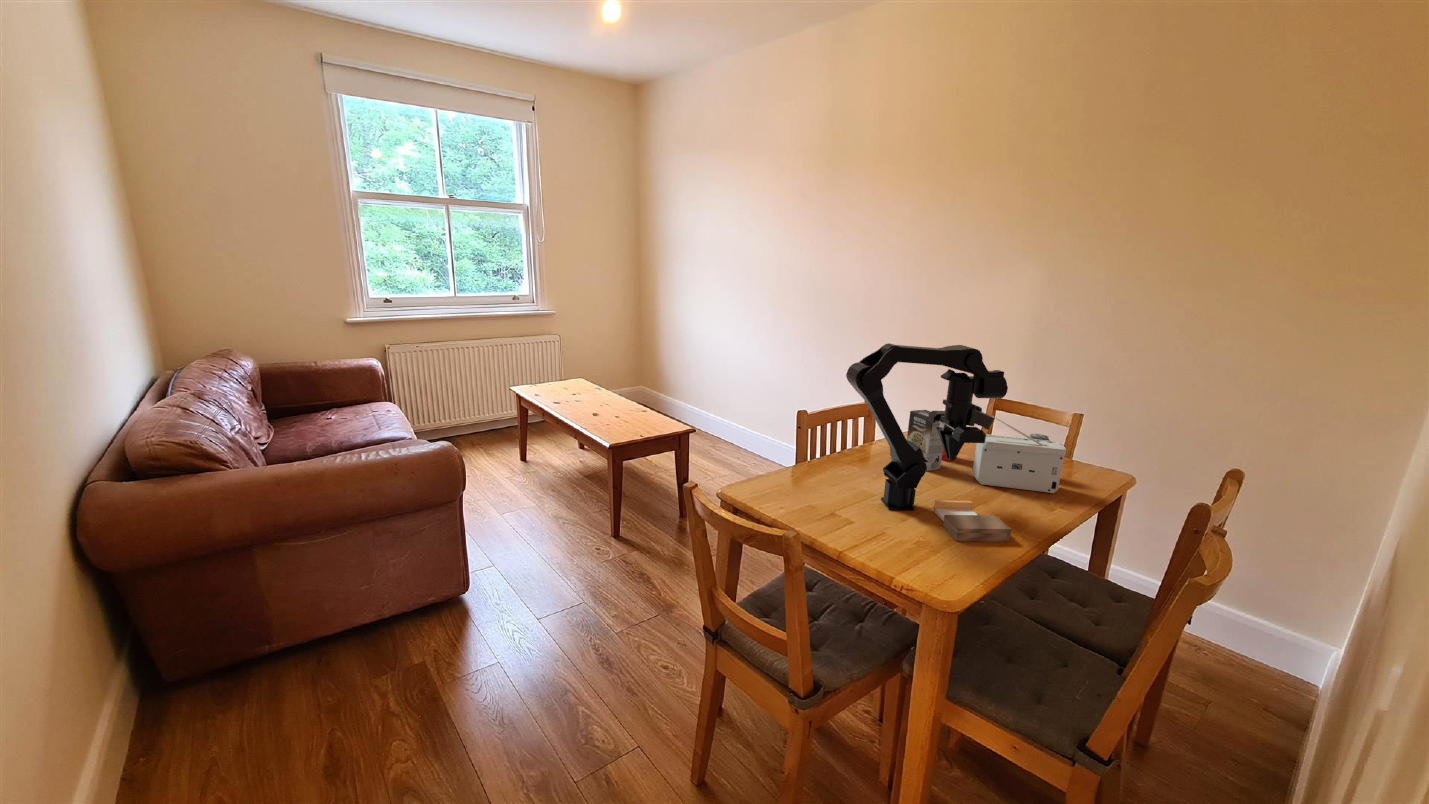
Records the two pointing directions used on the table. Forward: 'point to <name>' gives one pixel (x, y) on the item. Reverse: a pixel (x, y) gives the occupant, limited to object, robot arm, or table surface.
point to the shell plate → (953, 508)
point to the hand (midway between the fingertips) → (950, 459)
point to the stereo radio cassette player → (1019, 462)
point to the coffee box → (925, 438)
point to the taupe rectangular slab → (976, 528)
